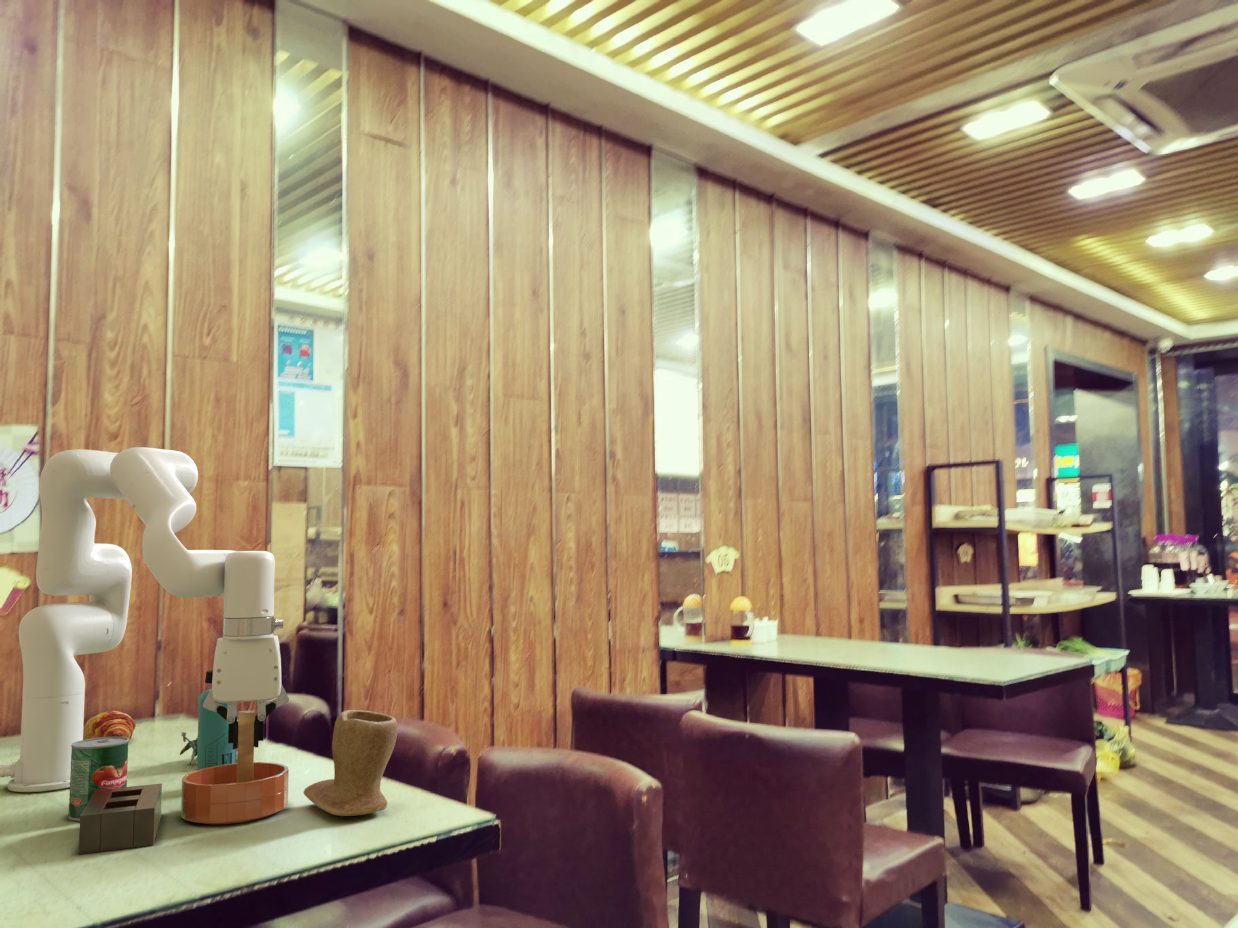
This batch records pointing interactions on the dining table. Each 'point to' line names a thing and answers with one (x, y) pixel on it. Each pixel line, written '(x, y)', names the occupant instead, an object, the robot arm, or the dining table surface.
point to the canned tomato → (96, 769)
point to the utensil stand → (120, 818)
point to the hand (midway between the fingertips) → (245, 745)
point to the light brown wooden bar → (245, 746)
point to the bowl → (233, 794)
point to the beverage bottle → (213, 735)
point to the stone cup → (357, 764)
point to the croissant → (109, 725)
